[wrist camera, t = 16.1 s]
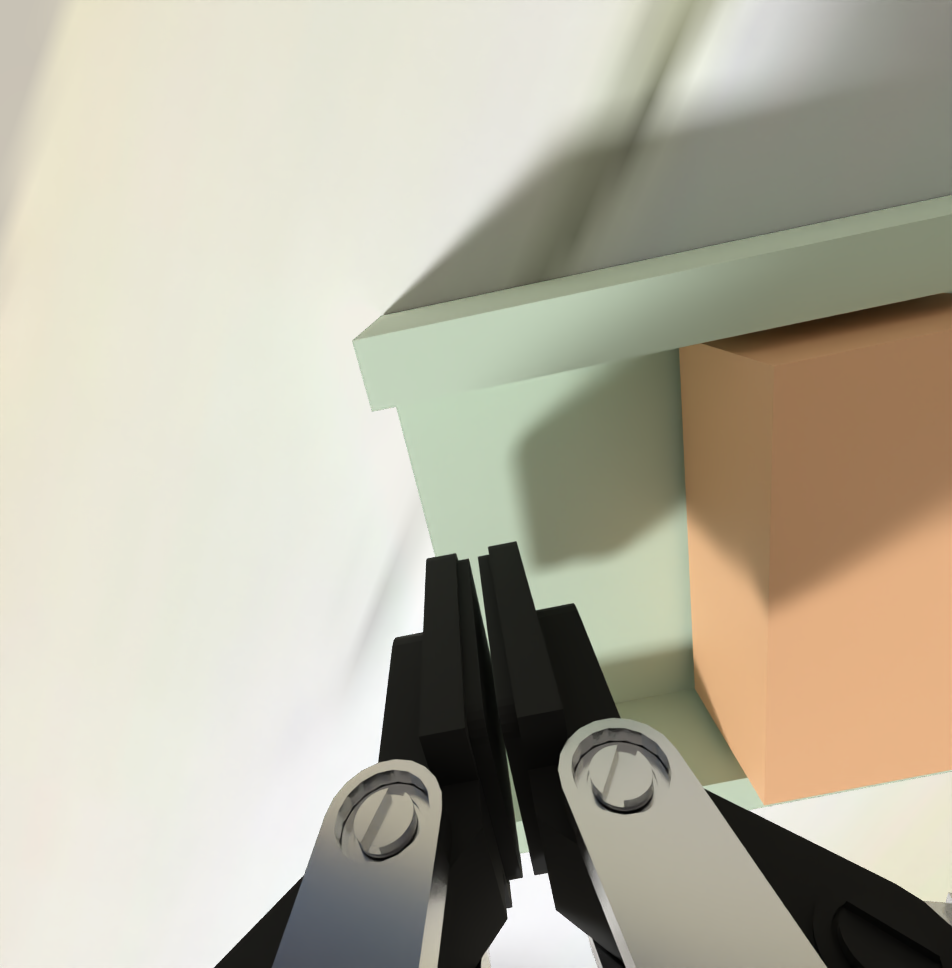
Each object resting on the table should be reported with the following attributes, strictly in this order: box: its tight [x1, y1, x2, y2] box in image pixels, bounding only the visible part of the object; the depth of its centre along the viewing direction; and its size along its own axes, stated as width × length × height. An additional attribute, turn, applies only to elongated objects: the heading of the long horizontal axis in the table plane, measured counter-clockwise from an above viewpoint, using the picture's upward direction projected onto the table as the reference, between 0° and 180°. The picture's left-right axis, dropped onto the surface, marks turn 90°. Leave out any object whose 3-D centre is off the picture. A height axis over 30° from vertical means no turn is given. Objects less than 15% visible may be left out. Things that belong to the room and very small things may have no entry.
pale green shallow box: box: [352, 195, 952, 853], centre depth 11 cm, size 20×11×4 cm, turn 101°
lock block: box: [679, 293, 952, 806], centre depth 10 cm, size 4×8×3 cm, turn 11°
